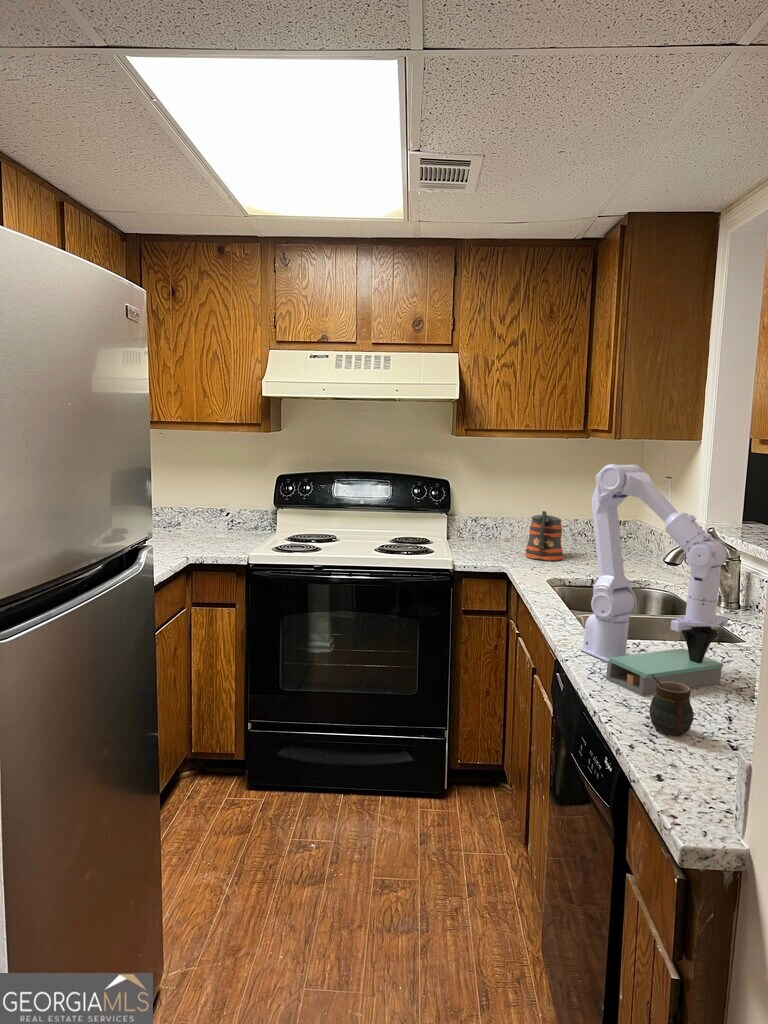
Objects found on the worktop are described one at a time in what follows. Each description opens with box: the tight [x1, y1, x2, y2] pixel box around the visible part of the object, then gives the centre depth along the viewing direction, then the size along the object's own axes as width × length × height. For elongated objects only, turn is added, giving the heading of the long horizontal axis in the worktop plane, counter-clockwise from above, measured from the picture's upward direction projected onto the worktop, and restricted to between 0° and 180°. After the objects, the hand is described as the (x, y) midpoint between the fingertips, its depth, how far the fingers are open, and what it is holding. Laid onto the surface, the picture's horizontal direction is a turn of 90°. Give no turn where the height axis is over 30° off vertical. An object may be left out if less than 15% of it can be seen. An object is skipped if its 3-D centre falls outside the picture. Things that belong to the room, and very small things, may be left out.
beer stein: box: [525, 510, 563, 562], centre depth 291 cm, size 19×15×20 cm
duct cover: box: [609, 648, 724, 678], centre depth 153 cm, size 10×22×1 cm, turn 116°
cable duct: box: [605, 662, 723, 697], centre depth 154 cm, size 11×22×4 cm, turn 116°
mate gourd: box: [649, 674, 695, 737], centre depth 128 cm, size 7×8×10 cm
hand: (695, 661), depth 154 cm, fingers closed, pressing on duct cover
